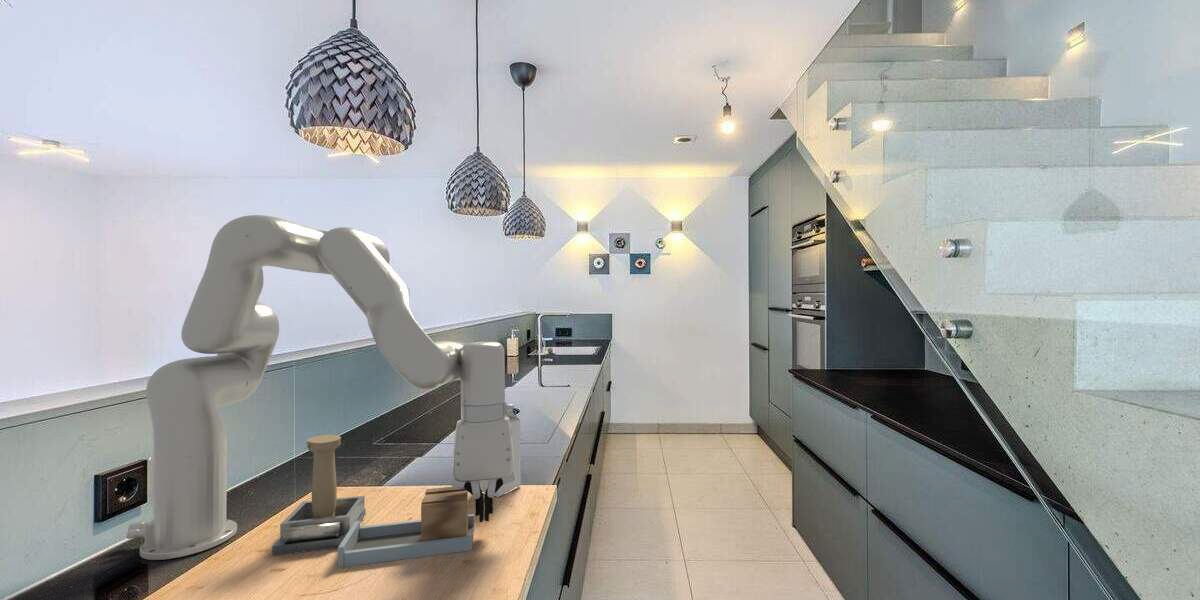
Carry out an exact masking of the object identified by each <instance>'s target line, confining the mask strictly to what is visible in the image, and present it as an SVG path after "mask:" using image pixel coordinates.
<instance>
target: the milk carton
mask: <svg viewBox="0 0 1200 600" xmlns="http://www.w3.org/2000/svg"><path fill="white" fill-rule="evenodd" d="M505 417H509V420H510V425H511V432H512V443H513V472H514V475H515V481H513V482H511V483H508V484H504V485H502V486H501V487H500V488H499V490H498V491H497V492H496V493H495V494H494V496H497V497H499V496H501V495H503V494H504V493H506V492H509V491H510V490H512V489H514V488H515V487H519V486H521V487H522V471H521V469H522V467H521V466H522V465H521V464H522V463H521V459H522V457H521V456H522V455H521V419H520V418H519V417H518V416H517V415H516V414H515V413H514V411H513V412H509V413H507V414H505ZM488 481H489V480H480V481H479V482H480V488H481V490H482V492H484V493H486V489H487V488H488ZM519 488H520V487H519ZM509 493H510V492H509ZM503 496H504V495H503ZM497 497H496V498H497ZM501 497H502V496H501ZM499 498H500V497H499Z"/></svg>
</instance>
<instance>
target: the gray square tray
mask: <svg viewBox="0 0 1200 600" xmlns="http://www.w3.org/2000/svg"><path fill="white" fill-rule="evenodd" d="M365 502H366V500H365V495H359V496H358V495H357V496H347V497H338V498H336V509H335V517H325V518H316V519H314V518H315V516H314V515H313V510H312V500H305V501H302V502H301V503H300V504H299V505H298V506H297V507H296V508H295V509H294V510H293V511H292V512H291V513H290V514H289V515H288V516H287V517H286V518H285V519H284V520H283V521H282V522H281V523H279V539H277V541H276V542H275V543H274V544H273V545H272V546H271V556H272V557H273V555H275V556H281V554H283V555H289V553H291V554H296V553H295V552H300V553H304V552H303V551H308V552H313V551H312V550H316V551H322V550H321V549H325V550H330V549H332V548H333V549H338V547H339V545H340V544H341V542H342V541H343V539H344V538H345V536H346V535H347V533H348V532H349V530H350V529H351V527H352V526H353V524H354V523H355V521H360V523H361V521H362V520H363V518H364V516H365V515H367V514H366V513H367V512H366V509H367V508H365V506H366V505H365ZM364 519H365V518H364ZM363 521H364V520H363ZM361 524H362V523H361Z"/></svg>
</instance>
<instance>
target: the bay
mask: <svg viewBox="0 0 1200 600" xmlns="http://www.w3.org/2000/svg"><path fill="white" fill-rule="evenodd" d="M474 531H475V513H471V514H470V513H468V532H467V536H464V537H456V538H448V539H439V540H431V541H423V542H421V519H416V520H407V521H399V522H390V523H382V524H381V523H380V524H373V525H372V524H371V525H370V524H369V525H362V526H361V525H360V521H355V523H354V524H353V526H352V527H351V529H350V530H349V532H348V533H347V535H346V536H345V538H344V539H343V541H342V542H341V544H340V545H339V547H338V548H337V568H343V567H351V566H352V567H353V566H360V565H367V564H369V565H370V564H376V563H383V562H391V561H399V560H406V559H413V558H420V557H421V558H422V557H429V556H430V557H431V556H438V555H439V556H440V555H445V554H446V555H447V554H452V553H462V552H469V551H473V544H474Z"/></svg>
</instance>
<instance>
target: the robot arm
mask: <svg viewBox="0 0 1200 600" xmlns="http://www.w3.org/2000/svg"><path fill="white" fill-rule="evenodd" d="M390 260H391V259H390V253H389V249H388V247H387V246H386V244H385V243H384V242H383V241H382V240H381V239H380V238H378V237H376V236H374V235H372V234H369V233H367V232H364V231H361V230H358V229H355V228H352V227H343V226H342V227H335V228H332V229H329V230H327V231H326V230H320V229H315V228H311V227H309V226H305V225H303V224H299V223H296V222H293V221H290V220H287V219H283V218H281V217H276V216H270V215H263V214H262V215H261V214H253V215H252V214H251V215H245V216H240V217H236V218H234V219H231V220H230V221H229V222H227V223H226V224H224V225H223V226H222V227H221V228H220V229H219V231H218V232H217V233H216V235H215V237H214V238H213V241H212V243H211V246H210V251H209V255H208V260H207V263H206V267H205V269H204V272H203V275H202V278H201V279H200V281H199V283H198V286H197V289H196V291H195V293H194V296H193V299H192V302H191V304H190V307H189V309H188V312H187V314H186V317H185V318H184V321H183V325H182V328H181V334H180V336H181V340H182V343H183V344H184V346H185V347H186V348H187V349H188V350H190V351H192V352H195V353H198V354H204V355H208V356H201V357H200V356H199V357H198V356H197V357H191V358H189V357H188V358H184V359H179V360H174V361H172V362H171V361H170V362H169V363H166V364H164V365H162V366H161V367H159V368H158V369H156V371H154V372H153V373H152V374H151V376H150V377H149V379H148V381H147V383H146V387H145V394H146V396H145V397H146V401H147V405H148V409H149V413H150V417H151V423H152V431H153V432H152V433H153V502H152V503H153V505H152V506H153V507H152V508H153V509H152V510H153V512H152V513H153V515H152V516H153V517H152V519H153V520H152V521H151V520H150V521H149V520H148V521H146V520H144V521H143V520H142V521H134V522H131V523H130V524H129V526H128V528H127V533H126V539H128V540H130V539H131V540H132V539H138V538H143V539H144V542H143V543H142V544H141V545H140V546H139V557H141V558H142V559H145V560H149V561H161V560H172V559H177V558H182V557H186V556H189V555H194V554H197V553H198V554H199V553H201V552H203V551H206V550H209V549H212V548H214V547H217V546H219V545H221V544H223V543H225V542H226V541H228V540H230V539H231V538H232V537H234V536H235V534H236V533H237V531H238V523H237V522H236V521H234V520H233V519H227V497H228V494H227V488H228V487H227V486H228V485H227V484H228V483H227V482H228V481H227V480H228V472H227V471H228V466H227V465H228V458H227V457H228V441H227V440H228V438H227V437H228V436H227V429H226V426H225V423H224V421H223V419H222V417H221V415H220V414H219V411H218V408H221V407H225V406H229V405H232V404H237V403H239V402H242V401H245V400H246V399H248V398H250V397H251V396H252V395H253V394H254V393H255V392H256V391H257V389H258V387H259V386H260V383H261V382H262V380H263V377H264V375H265V373H266V369H267V367H268V365H269V362H270V360H271V357H272V354H273V351H274V350H275V347H276V344H277V341H278V338H279V335H280V321H279V318H278V316H277V314H276V312H275V311H274V310H273V309H272V308H271V307H270V306H268V305H267V304H265V303H261V302H258V300H259V299H260V298H259V297H260V296H261V294H262V292H263V287H264V281H265V279H264V271H263V268H264V267H275V268H280V269H281V268H282V269H285V270H293V271H298V272H305V273H313V274H322V275H328V276H329V275H330V276H332V278H333V279H334V280H335V281H336V282H337V283H338V285H339V286H340V287H341V288H342V289H343V290H344V291H345V292H346V293H347V295H348V296H349V297H350V298H351V300H352V301H353V302H354V304H356V306H357V307H358V308H359V309H360V311H361V312H362V313H363V314H364V316H365V318H366V320H367V324H368V327H369V330H370V333H371V334H372V338H373V340H374V343H375V344H376V346H377V348H378V349H379V351H380V353H381V354H382V356H384V358H385V359H386V361H387V362H388V363H389V364H390V365H391V366H392V367H393V369H394V370H395V371H396V373H398V375H399V376H400V377H401V378H403V380H404V381H406V382H407V383H408V384H409V385H411V386H412V387H414V388H416V389H419V390H426V391H427V390H433V389H436V388H439V387H441V386H443V385H445V384H449V383H452V382H455V381H460V419H459V420H457V421H456V426H455V430H454V441H453V455H452V456H453V458H452V474H453V478H452V481H451V487H454V488H460V489H466V490H467V491H468V494H470V495H471V496H472V497H473V499H474V508H475V509H474V512H475V513H474V517H475V516H478V518H479V520H478V521H479V523H482V522H484V521H485V522H489V521H490V517H489V516H490V515H492V514H494V505H493V504H494V501H493V500H494V497H493V496H494V494H495V493H496V492H497V491H498V490H499V488H500V487H501V486H502V485H504V484H508V483H511V482H513V481H515V475H514V472H513V443H512V432H511V425H510V420H509V417H505V414H507V413H509V412H513V413H514V404H513V403H511V404H509V403H507V401H506V390H505V389H506V384H505V383H506V377H505V375H506V374H505V373H506V372H505V370H506V369H505V365H506V364H505V361H506V360H505V348H504V346H503V344H502V343H500V342H497V341H476V342H475V341H474V342H458V341H450V340H441V341H433V339H431V338H430V336H429V335H428V334H427V333H426V332H425V330H424V329H423V327H422V326H420V324H419V323H418V321H417V319H415V317H414V315H413V314H412V311H411V309H410V305H409V300H410V299H409V298H410V293H411V292H410V288H409V286H408V285H407V284H406V283H405V281H404V280H403V279H402V278H401V277H400V276H399V274H398V273H397V272H396V271H395V270H394V268H393V267H392V266H391V265H390ZM209 355H211V356H209ZM480 480H489V481H488V488H487V489H486V493H485V494H484V493H482V490H481V488H480V482H479V481H480Z"/></svg>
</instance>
